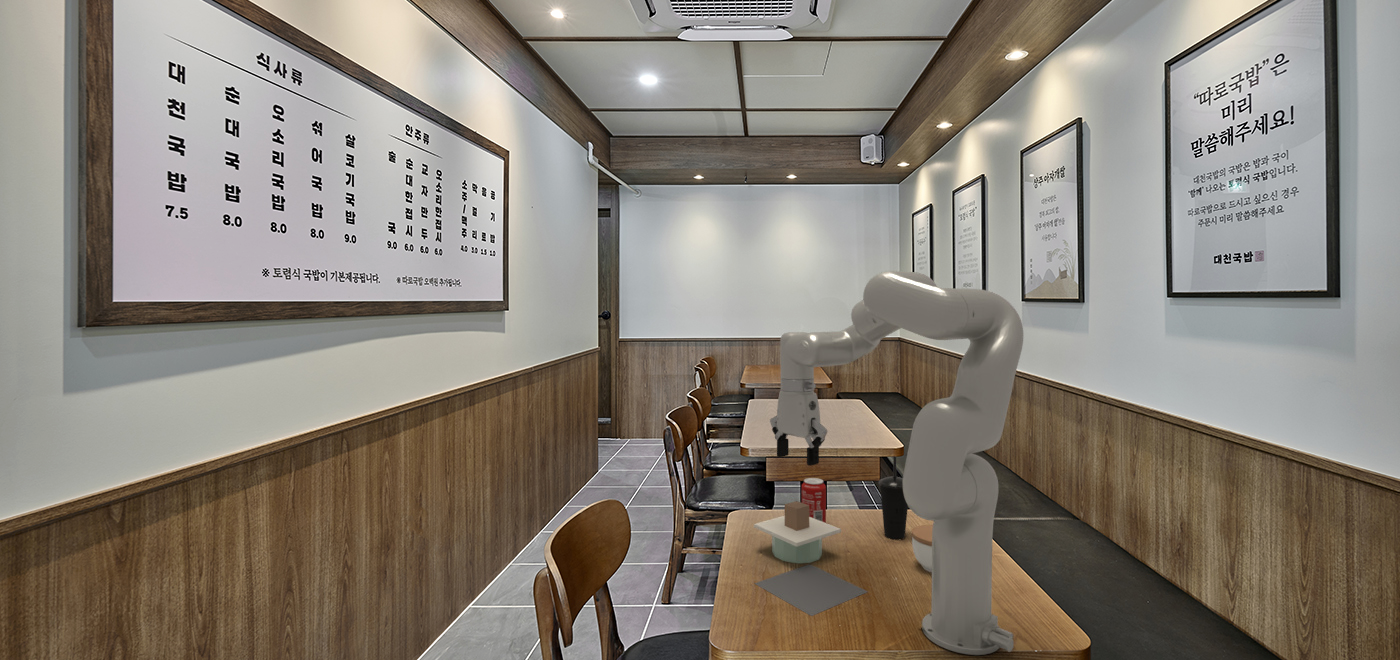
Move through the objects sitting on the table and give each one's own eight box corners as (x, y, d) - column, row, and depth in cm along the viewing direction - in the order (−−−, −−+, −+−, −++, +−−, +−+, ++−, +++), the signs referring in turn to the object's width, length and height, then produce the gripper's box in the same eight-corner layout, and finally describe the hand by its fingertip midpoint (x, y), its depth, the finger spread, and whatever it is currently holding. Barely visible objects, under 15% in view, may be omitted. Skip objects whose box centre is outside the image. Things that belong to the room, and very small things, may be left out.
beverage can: (824, 521, 158) (824, 477, 158) (827, 530, 152) (827, 484, 151) (800, 521, 159) (800, 477, 158) (802, 529, 152) (802, 483, 152)
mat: (868, 594, 117) (868, 591, 117) (811, 619, 108) (811, 615, 108) (809, 566, 130) (809, 563, 130) (754, 586, 121) (754, 583, 121)
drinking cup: (872, 532, 150) (872, 454, 150) (898, 529, 153) (898, 452, 152) (890, 543, 143) (891, 461, 142) (917, 539, 145) (917, 459, 145)
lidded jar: (975, 575, 126) (975, 532, 125) (932, 582, 123) (932, 537, 122) (941, 555, 136) (941, 515, 136) (901, 561, 133) (901, 520, 133)
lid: (840, 532, 135) (840, 507, 134) (796, 546, 126) (796, 519, 126) (797, 515, 146) (797, 492, 146) (754, 527, 138) (753, 502, 138)
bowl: (831, 557, 135) (831, 531, 135) (796, 569, 129) (796, 542, 129) (797, 542, 144) (797, 518, 144) (763, 553, 138) (763, 527, 138)
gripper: (837, 388, 130) (837, 465, 131) (782, 381, 144) (783, 451, 145) (813, 391, 126) (813, 470, 127) (759, 383, 140) (760, 455, 141)
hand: (797, 460), depth 136 cm, fingers open, 9 cm apart
